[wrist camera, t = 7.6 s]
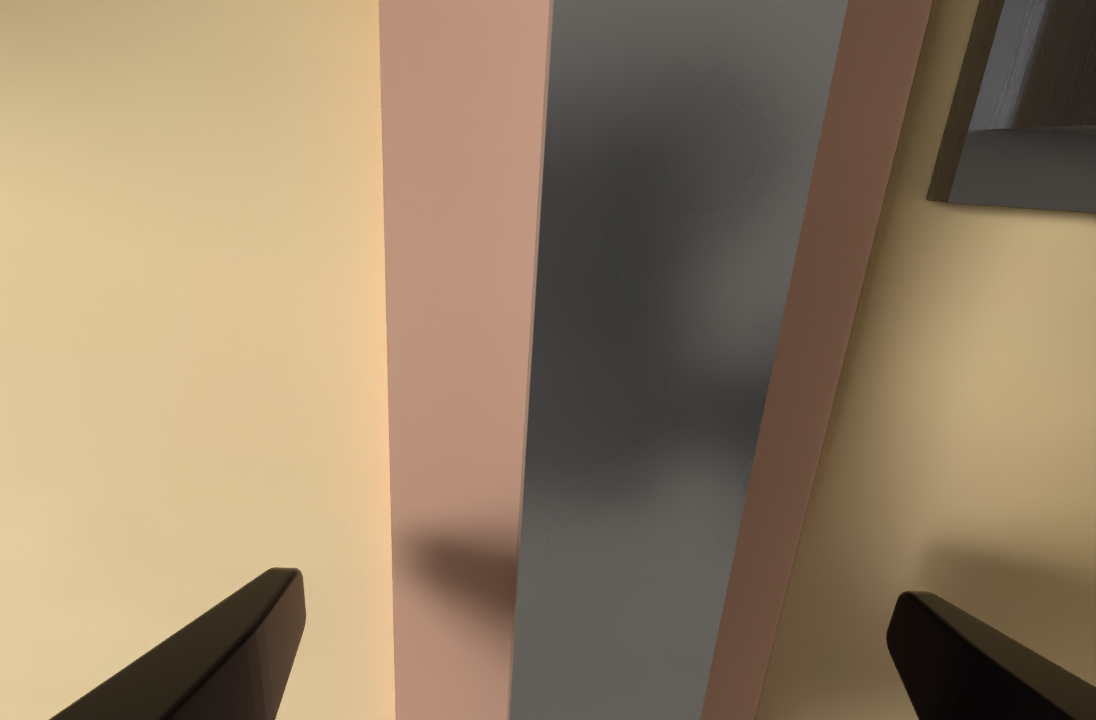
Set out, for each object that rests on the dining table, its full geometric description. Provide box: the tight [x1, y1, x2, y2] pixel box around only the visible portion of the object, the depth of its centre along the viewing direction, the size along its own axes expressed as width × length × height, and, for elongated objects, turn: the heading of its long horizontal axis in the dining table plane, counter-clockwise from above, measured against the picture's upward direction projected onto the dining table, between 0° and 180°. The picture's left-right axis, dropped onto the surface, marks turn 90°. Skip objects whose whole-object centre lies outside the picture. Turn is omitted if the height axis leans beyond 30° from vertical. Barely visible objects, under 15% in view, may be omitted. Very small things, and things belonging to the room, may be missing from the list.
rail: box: [507, 0, 848, 720], centre depth 9 cm, size 26×3×3 cm, turn 176°
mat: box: [379, 0, 933, 720], centre depth 10 cm, size 24×7×1 cm, turn 176°
